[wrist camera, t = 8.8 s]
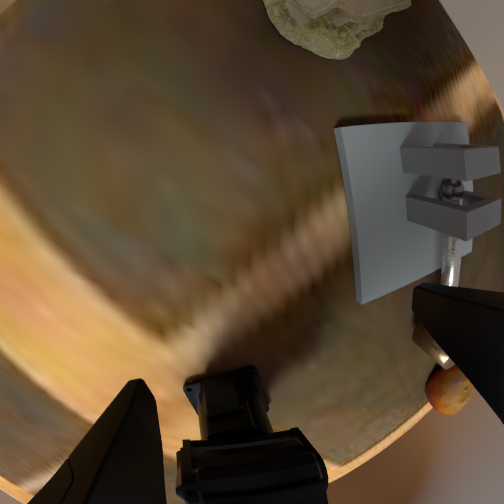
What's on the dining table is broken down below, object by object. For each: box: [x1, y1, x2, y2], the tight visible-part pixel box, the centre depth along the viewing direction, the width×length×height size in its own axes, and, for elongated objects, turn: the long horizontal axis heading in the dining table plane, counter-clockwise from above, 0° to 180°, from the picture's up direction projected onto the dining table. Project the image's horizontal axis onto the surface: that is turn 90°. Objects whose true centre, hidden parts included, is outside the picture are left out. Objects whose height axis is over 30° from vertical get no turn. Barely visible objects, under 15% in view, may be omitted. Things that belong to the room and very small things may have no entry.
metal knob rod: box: [412, 178, 464, 369], centre depth 20 cm, size 18×4×5 cm, turn 13°
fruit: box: [425, 365, 474, 415], centre depth 29 cm, size 8×8×8 cm
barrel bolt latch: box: [334, 122, 501, 305], centre depth 18 cm, size 14×16×8 cm
